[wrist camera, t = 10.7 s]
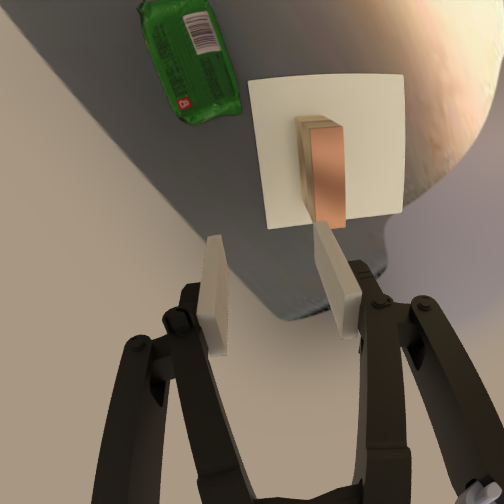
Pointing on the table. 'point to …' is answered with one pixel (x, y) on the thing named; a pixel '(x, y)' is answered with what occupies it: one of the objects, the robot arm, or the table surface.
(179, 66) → the snack package
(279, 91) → the cream board
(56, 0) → the table surface
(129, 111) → the table surface
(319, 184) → the oak slab
